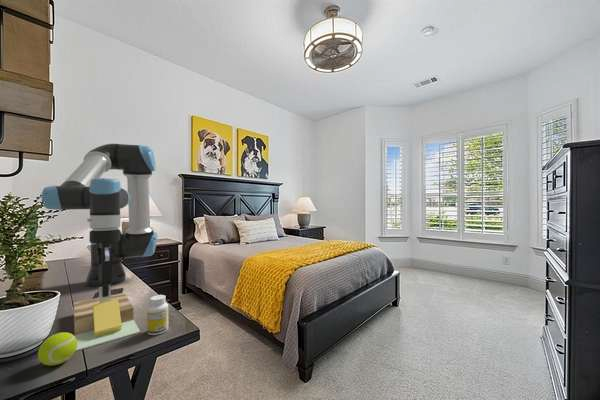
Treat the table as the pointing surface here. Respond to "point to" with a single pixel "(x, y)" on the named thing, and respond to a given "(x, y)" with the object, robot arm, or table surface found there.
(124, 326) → the mat
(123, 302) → the deck
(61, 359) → the tennis ball
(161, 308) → the supplement bottle
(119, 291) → the chocolate bar
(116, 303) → the yellow sticky note pad
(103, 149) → the robot arm
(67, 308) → the table surface
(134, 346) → the table surface
